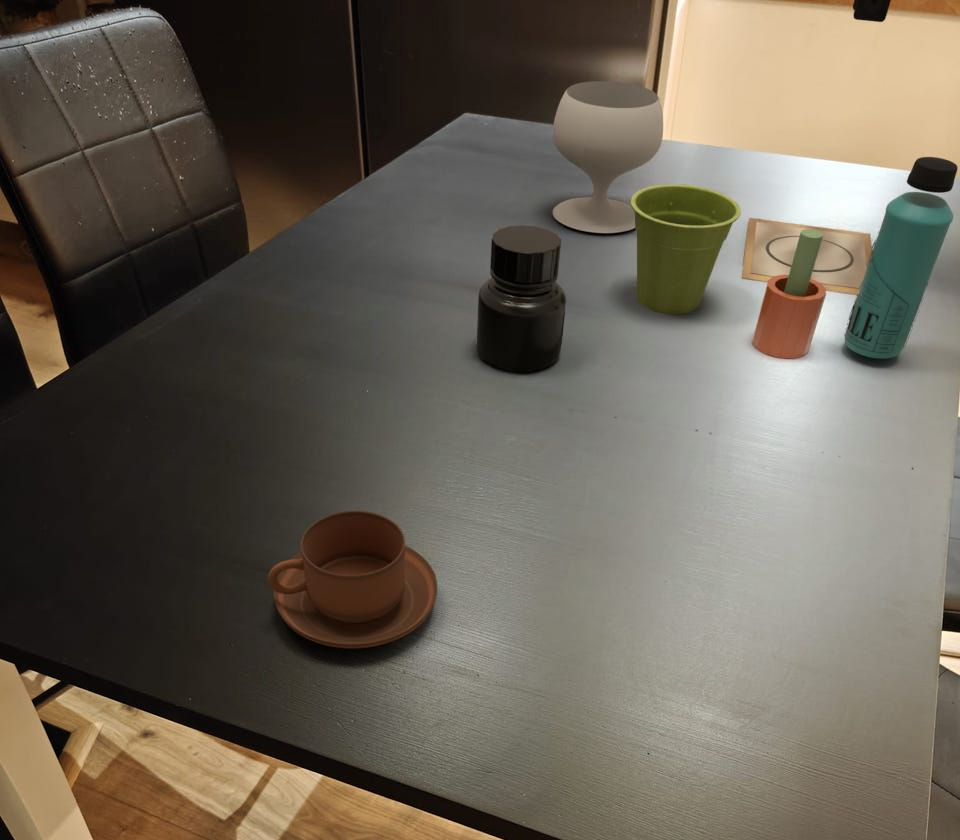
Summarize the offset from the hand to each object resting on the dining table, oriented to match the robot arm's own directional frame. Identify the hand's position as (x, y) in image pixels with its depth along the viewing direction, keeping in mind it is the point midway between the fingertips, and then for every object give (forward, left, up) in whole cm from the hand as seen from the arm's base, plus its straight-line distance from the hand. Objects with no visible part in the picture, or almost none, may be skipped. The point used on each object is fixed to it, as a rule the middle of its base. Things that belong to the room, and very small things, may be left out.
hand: (868, 13), depth 98 cm
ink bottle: (+29, +32, -27) cm, 51 cm away
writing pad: (-1, -4, -27) cm, 28 cm away
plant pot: (+15, +15, -27) cm, 35 cm away
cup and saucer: (+32, +74, -27) cm, 85 cm away
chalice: (+27, -8, -27) cm, 39 cm away
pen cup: (+2, +22, -27) cm, 35 cm away
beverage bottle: (-8, +21, -27) cm, 35 cm away
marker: (+2, +22, -27) cm, 35 cm away
